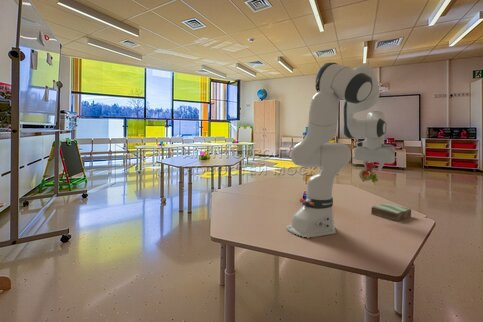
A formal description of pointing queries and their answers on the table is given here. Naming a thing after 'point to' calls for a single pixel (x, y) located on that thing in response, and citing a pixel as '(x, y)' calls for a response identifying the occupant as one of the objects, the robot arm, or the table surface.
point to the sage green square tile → (391, 212)
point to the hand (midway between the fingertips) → (372, 170)
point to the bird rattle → (365, 174)
